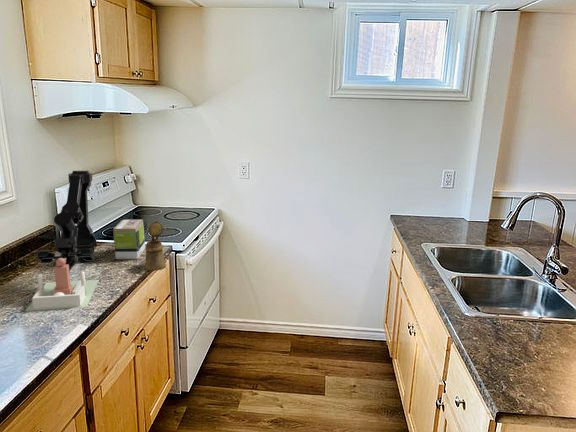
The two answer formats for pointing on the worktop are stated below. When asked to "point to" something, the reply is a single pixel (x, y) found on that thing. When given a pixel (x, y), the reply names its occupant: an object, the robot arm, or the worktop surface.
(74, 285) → the pitch
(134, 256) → the tea box
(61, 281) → the striker
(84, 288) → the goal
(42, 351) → the worktop surface
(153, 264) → the brown pawn figure
